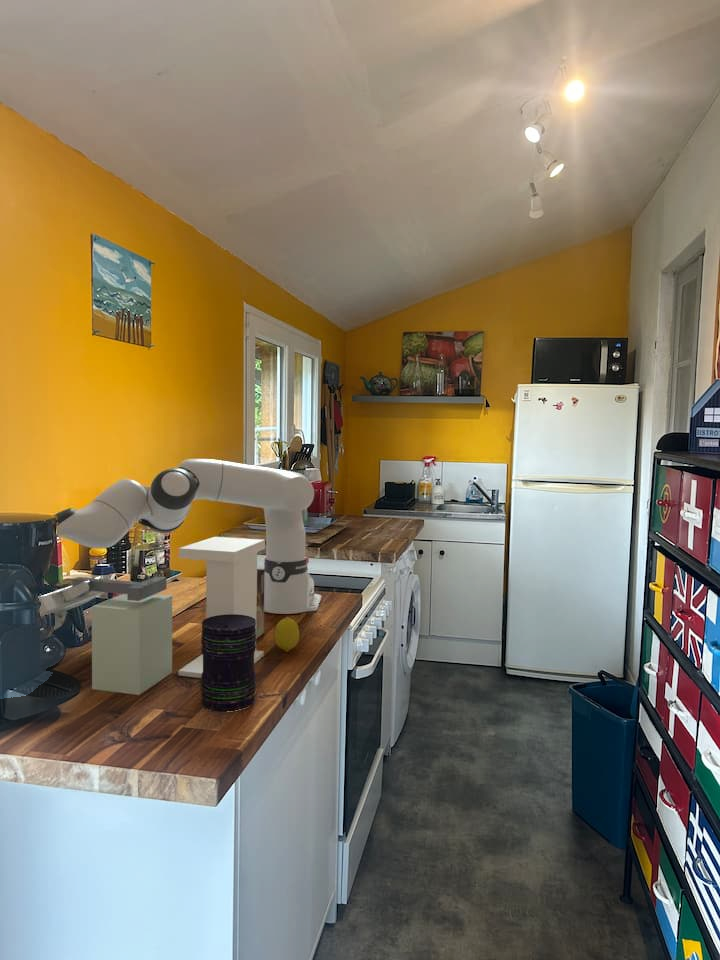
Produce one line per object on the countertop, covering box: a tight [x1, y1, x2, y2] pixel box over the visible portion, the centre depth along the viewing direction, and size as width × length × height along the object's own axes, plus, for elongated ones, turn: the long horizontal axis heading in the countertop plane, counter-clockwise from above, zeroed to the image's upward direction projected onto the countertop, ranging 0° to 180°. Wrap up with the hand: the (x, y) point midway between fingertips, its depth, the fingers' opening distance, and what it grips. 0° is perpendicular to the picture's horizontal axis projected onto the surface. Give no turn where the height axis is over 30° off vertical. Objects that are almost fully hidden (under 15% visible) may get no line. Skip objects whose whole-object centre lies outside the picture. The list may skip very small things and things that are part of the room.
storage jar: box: [200, 614, 257, 713], centre depth 118 cm, size 10×10×15 cm
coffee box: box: [256, 568, 265, 640], centre depth 156 cm, size 9×6×16 cm
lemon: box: [274, 616, 300, 653], centre depth 147 cm, size 6×6×8 cm
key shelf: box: [177, 536, 266, 679], centre depth 137 cm, size 16×12×26 cm
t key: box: [71, 576, 167, 601], centre depth 128 cm, size 10×17×2 cm, turn 77°
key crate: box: [91, 593, 173, 696], centre depth 127 cm, size 12×10×16 cm
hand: (94, 582), depth 128 cm, fingers closed on t key, 2 cm apart
